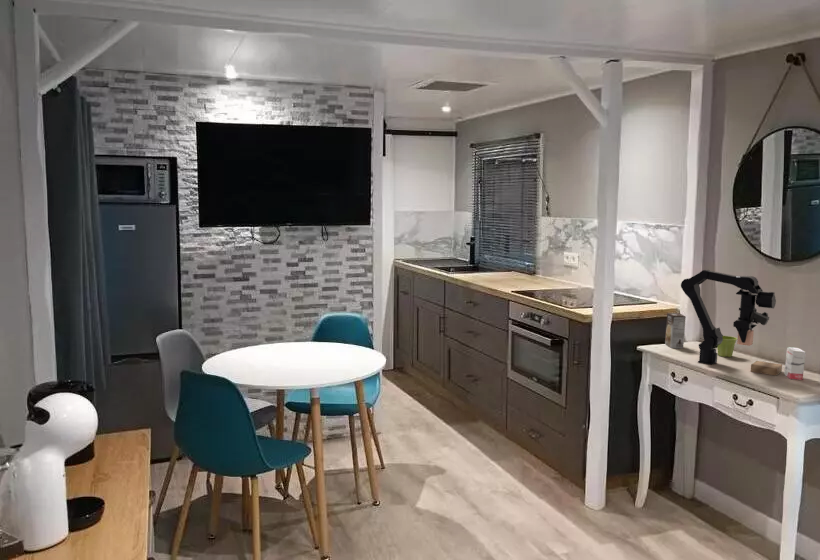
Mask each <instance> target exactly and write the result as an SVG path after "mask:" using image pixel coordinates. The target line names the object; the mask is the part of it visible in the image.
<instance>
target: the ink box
mask: <svg viewBox="0 0 820 560" xmlns="http://www.w3.org/2000/svg"><path fill="white" fill-rule="evenodd" d="M806 355H807V352H806V351H805V350H803V349H801V348H799V347H793V346H792V347H790V346H787V348H786V356H785V363H784V365H785V366H784V372H783V373H784V376H785V377H787V378H788V379H790V380H796V381H797V380H798V381H803V379H804V372H805V371H804V370H805V362H806Z"/></svg>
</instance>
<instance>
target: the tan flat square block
mask: <svg viewBox="0 0 820 560" xmlns="http://www.w3.org/2000/svg"><path fill="white" fill-rule="evenodd" d="M782 370H783V364H779V363H773V362H768V361H767V362H766V361H761V360H756V361H755V362H753V363H751V365H750V372H751V373H757V374H764V375H769V376H777V377H778V376H779V374H780V373H782V372H783V371H782ZM781 371H782V372H781Z"/></svg>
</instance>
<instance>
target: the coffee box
mask: <svg viewBox="0 0 820 560" xmlns="http://www.w3.org/2000/svg"><path fill="white" fill-rule="evenodd" d="M665 324H666V325H665V340H664V343H665V346H667V347H669V348H671V349H684V345H685V344H684V343H685V330H686V328H685V327H686V316H685V315H684V314H681V313H679V312H678V313H677V312H676V313H675V312H667V313H666V323H665Z"/></svg>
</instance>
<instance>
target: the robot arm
mask: <svg viewBox="0 0 820 560" xmlns="http://www.w3.org/2000/svg"><path fill="white" fill-rule="evenodd" d="M707 280H709V281H714V282H719V283H722V284H723V283H725V284H728V285H732V286H734V287H737V288H739V290H738V291H737V292H735V294H736V295H739V296H740V303H739V304H740V305H739V306H740V307H738V311H739V317H738V318H737V319H736V320H734V321H733V325H732V326H733V328H735V329H736V330H737V334H738V333H739V336H740V338H741V341H742V343H745V341H746V337H747V333H748V331H749V330H754V329H755V327H756V326H757V325H758V324H760V325H762V326H767V324H768V323H769V321H770V316H769V313H767V312H766V311H764V312H762V313H761V312H758V311H757V307H759V308H763V309H764V308H765V309H775V307H776V303H777V299H776V295H775V293H776V292H775V291H764V290H763V289H762V287H761V286H760V284H759V280H758V278H757V277H755V276H753V275H752V276H751V275H750V276H749V275H733V274H728V273H724V272H723V273H722V272H718V271H713V270H710V269H704V270H701V271H700V272H698V273H696V274H695V275H693V276H690V278H689V277H688V278H684V279H683V280H682V281H681V283H680V288H681V289H682V291H683V292H684V294H685V295H686V296H687V297H688V299H689V300H690V303H691V305H692V306H693V309H694V311H695V313H696V316H697V319H698V320H699V323H700V326H701V328H702V336H703V341H701V342H700V343H699V344H698V348H699V355H698V356H699V357H698V358H699V359H698V360H697V363H701V364H708V365H714V364H717V362H718V352H717V351H718V350H717V347H718V345H720V344H721V343H722V341H723V338H722V336H724V335H723V333H722V330H721V328H720V327H715V325H714V324H713V321H712V319H711V317H710V314H709V313H708V312H709V311H708V310H707V308H706V305H705V304H704V300H703V299H702V296H701V287H700V285H701V284H703V283H704V282H705V281H707ZM756 306H757V307H756Z"/></svg>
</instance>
